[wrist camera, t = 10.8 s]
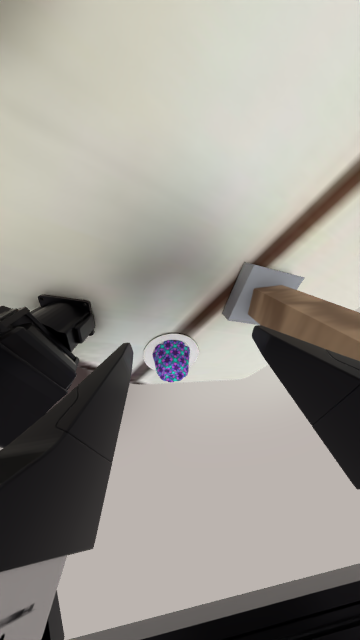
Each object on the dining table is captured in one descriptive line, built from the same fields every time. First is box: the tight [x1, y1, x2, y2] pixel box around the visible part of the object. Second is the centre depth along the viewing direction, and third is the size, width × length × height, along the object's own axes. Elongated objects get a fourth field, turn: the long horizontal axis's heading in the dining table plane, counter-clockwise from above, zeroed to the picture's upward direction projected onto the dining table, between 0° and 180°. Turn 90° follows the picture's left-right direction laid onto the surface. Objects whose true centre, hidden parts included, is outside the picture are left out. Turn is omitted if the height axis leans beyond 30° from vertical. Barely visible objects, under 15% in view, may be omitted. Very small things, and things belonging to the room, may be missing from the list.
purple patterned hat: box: [143, 334, 199, 382], centre depth 26 cm, size 12×12×5 cm
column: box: [248, 285, 360, 361], centre depth 15 cm, size 4×4×14 cm
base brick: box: [222, 262, 304, 325], centre depth 22 cm, size 9×9×2 cm
